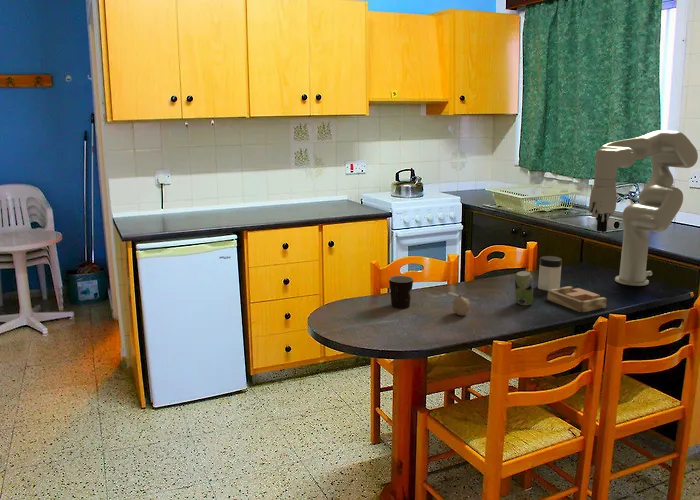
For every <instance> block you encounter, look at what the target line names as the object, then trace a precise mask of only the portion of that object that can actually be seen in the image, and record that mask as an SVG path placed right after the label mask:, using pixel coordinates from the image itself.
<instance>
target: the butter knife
mask: <svg viewBox="0 0 700 500" xmlns="http://www.w3.org/2000/svg"><path fill="white" fill-rule="evenodd" d="M447 294H448V295H450V296H453V297H455V298H456V297H458V296H459V295H460V294H458V293H455V292H452V291H449V292H447ZM461 297H463V298H465V299H466V300H468V301H470V299H469V298H466V297H464V296H462V295H461Z"/></svg>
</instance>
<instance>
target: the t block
mask: <svg viewBox="0 0 700 500" xmlns="http://www.w3.org/2000/svg"><path fill="white" fill-rule="evenodd" d="M565 295H566V296H569V297H572V298H575V299H578V300H581V301H585V300H590V299H596V298H601V295H600V294H598V293H595V292H592V291H589V290H586V289H583V288H580V287H576V288H573V289H572V290H571V293H567V294H565Z"/></svg>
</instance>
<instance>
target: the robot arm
mask: <svg viewBox="0 0 700 500" xmlns="http://www.w3.org/2000/svg"><path fill="white" fill-rule="evenodd" d="M698 156H699V152H698V150H697V148H696V147H695V145H694V144H693V143H692V141H691V140H690V139H689V138H688V137H687V136H686V135H685V134H684V133H683V132H681V131H679V130H678V131H677V130H653V131H651V132H648V133H645V134H644V135H641V136H637V137H633V138H628V139H627V138H626V139H622V140H617V141H612V142H608V143H606V144H603V145H601V146H600V147H599V148H598V149H597V150H596V152H595V158H594V159H595V162H594V179H593V186H592V189H591V191H590V196H589V203H588V204H589V205H588V212H589V213H590V214H591V217H592V218H595V221H596V232H600V233H606V232H607V229H608V222H609V220H610V217H611V216H613V214H614V212H615V211H616V210H617V209H616V208H617V185H616V184H617V174H618V173H617V171H618V168H621V169H626V168H629V167H632V166H633V165H634V164H635V162H636V160H644V159H647V158H649V157H651V166H652V167H651V168H652V174H651V176H650V178H649V180H648V181H647V183H646V185H645V186H644V187H643V188H642V190H641V192H640V193H639V195H638V203H639V204H637V203H636V204H634V203H633V204H629V205H627V206H626V207H624V209H623V212H622V224H623V225H622V226H623V231H622V232H623V235H622V246H621V254H620V256H621V258H620V264H619V265H620V266H619V275H616V276H615V277H614V281H615V282H616V283H618V284H621V285H625V286H630V287H631V286H634V287H642V286H643V287H644V286H647V285H649V284H650V280H648V278H647V277H650V276H653V272H652V270H647V263H648V262H647V261H648V255H649V254H648V253H649V247H650V246H649V243H650V240H649V235H648V233H647V231H649V232H653V233H654V232H655V233H662V232H665V231H666V230H667V229H668V228H669V227H670V225H671V223H672V222H673V220H674V218H675V217H676V215H677V214H678V212H679V211H680V209H681V207H682V206H683V201H684V194H683V191H682V190H681V189H680V188H679V187H675V186H673V184H674V182H675V181H674V176H673V174H672V172H671V171H670V167H671V168H681V169H689V168H692V167H694V166H695V165H696V163H697V161H698V158H699V157H698Z"/></svg>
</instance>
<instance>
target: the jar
mask: <svg viewBox="0 0 700 500" xmlns="http://www.w3.org/2000/svg"><path fill="white" fill-rule="evenodd" d="M562 260H563V259H562V258H561V257H559V256H553V255H545V256H540V258H539V270H538V271H539V272H538V281H537V283H538V284H537V288H538V289H539V290H542V291H547V292H548V290H550V289H556V288H561V277H562V276H561V274H562V264H563V261H562Z"/></svg>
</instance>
